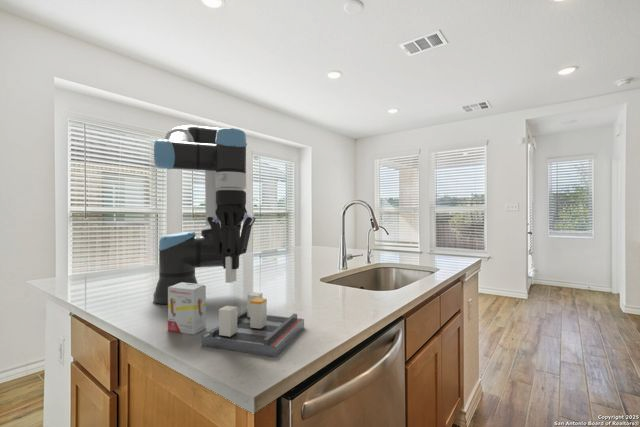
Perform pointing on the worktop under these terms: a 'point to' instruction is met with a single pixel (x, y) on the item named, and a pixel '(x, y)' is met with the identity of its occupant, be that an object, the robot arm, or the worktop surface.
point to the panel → (257, 335)
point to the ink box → (187, 308)
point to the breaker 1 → (227, 321)
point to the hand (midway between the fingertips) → (231, 281)
